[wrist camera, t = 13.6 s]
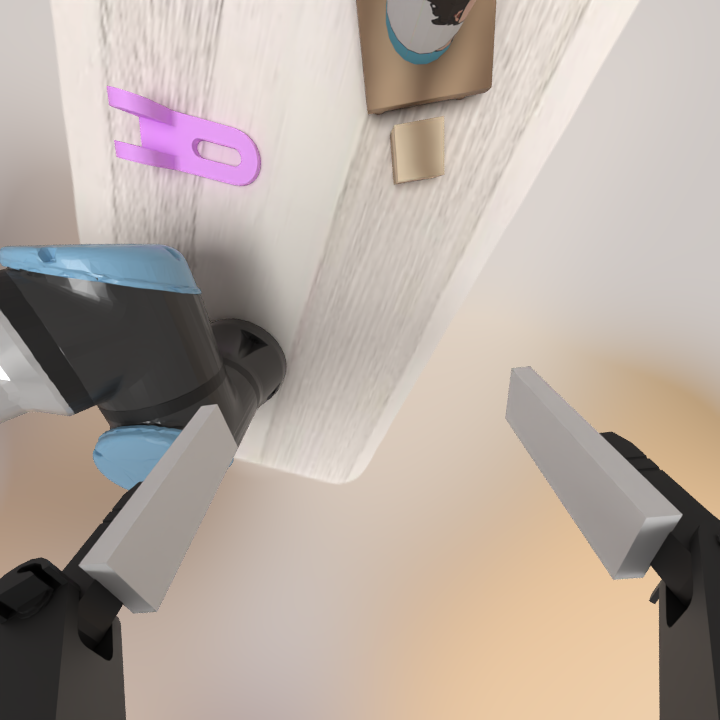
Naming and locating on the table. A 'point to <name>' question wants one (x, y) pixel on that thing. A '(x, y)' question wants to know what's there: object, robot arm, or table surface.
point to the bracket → (183, 141)
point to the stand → (425, 81)
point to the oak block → (417, 150)
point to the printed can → (424, 26)
